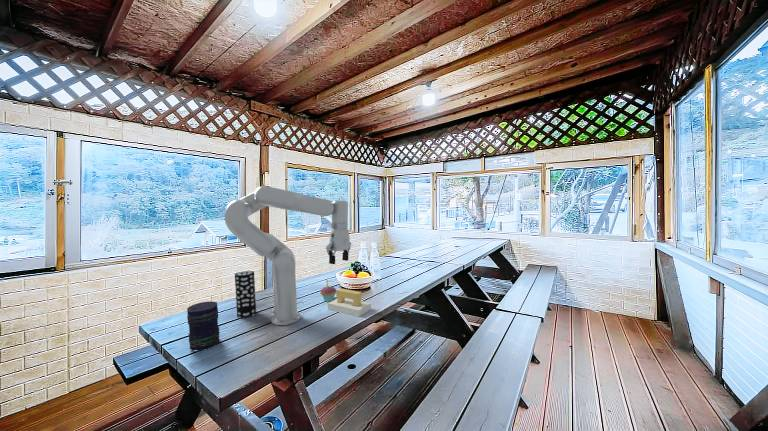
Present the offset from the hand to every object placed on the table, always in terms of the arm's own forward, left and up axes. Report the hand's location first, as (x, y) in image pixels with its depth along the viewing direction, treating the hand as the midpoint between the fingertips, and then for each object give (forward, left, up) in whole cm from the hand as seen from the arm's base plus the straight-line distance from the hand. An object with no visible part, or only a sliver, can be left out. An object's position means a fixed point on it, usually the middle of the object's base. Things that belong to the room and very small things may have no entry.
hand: (338, 262), depth 135 cm
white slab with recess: (+2, +4, -24) cm, 24 cm away
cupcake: (-16, +9, -24) cm, 30 cm away
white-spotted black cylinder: (-38, -24, -24) cm, 51 cm away
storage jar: (-26, -49, -24) cm, 61 cm away
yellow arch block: (+2, +4, -24) cm, 24 cm away
